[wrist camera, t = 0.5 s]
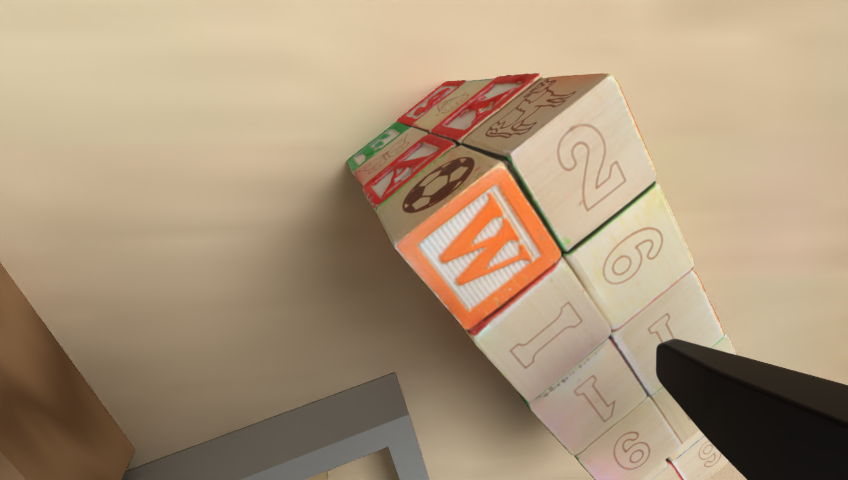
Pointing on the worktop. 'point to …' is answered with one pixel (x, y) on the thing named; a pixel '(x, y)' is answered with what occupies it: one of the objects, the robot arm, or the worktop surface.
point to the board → (49, 405)
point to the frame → (304, 441)
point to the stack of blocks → (553, 258)
